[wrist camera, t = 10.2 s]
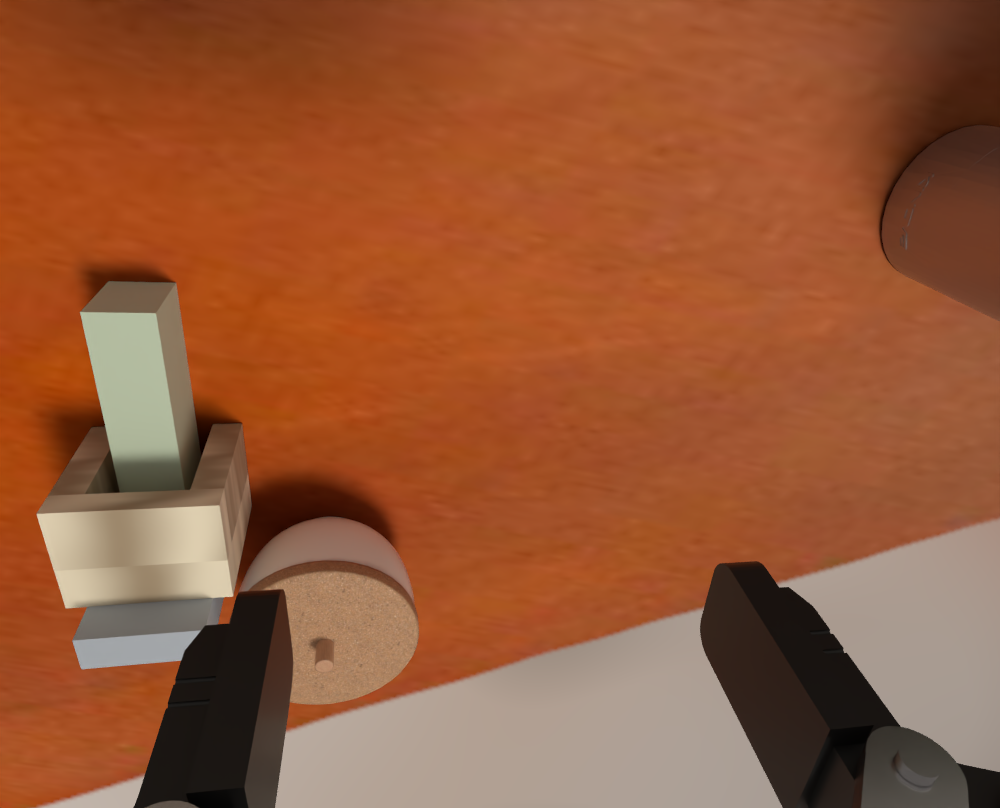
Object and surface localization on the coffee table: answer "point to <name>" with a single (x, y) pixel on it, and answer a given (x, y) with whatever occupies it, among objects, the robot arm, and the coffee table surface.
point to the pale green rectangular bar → (143, 384)
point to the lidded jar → (339, 607)
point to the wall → (142, 631)
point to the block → (148, 527)
